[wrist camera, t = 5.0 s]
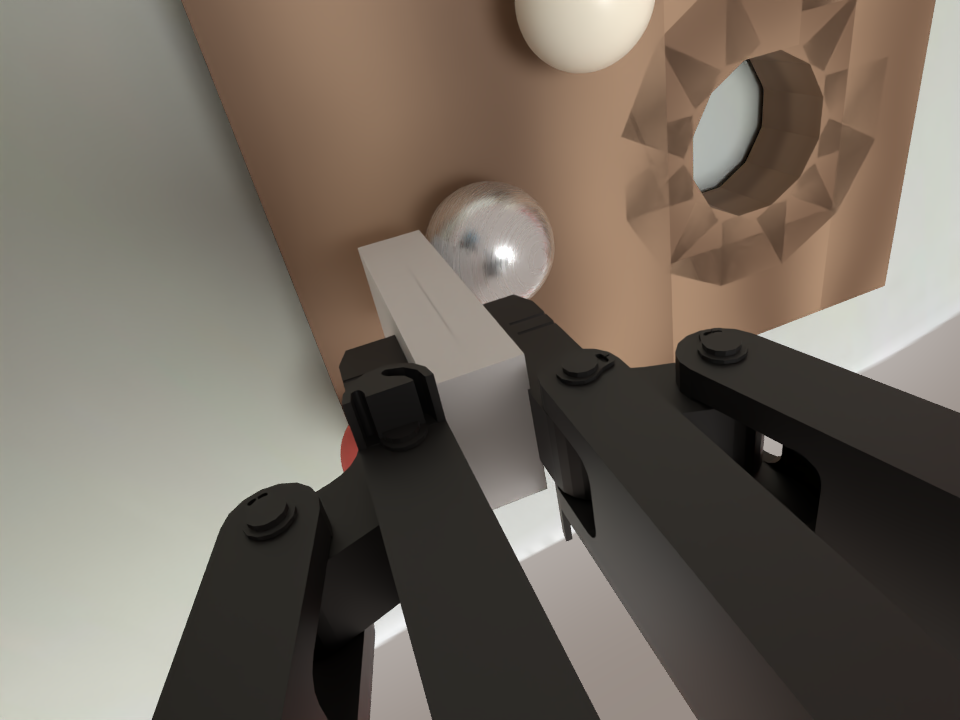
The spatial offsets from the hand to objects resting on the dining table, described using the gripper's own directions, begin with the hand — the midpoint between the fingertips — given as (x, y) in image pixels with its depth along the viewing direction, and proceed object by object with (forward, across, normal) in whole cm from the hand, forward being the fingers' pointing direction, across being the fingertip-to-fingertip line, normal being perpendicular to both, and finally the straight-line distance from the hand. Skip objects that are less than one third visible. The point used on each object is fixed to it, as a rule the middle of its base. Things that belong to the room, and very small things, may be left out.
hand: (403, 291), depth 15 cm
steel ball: (0, +2, 0) cm, 2 cm away
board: (+4, +8, 0) cm, 9 cm away
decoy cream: (0, +6, +5) cm, 8 cm away
